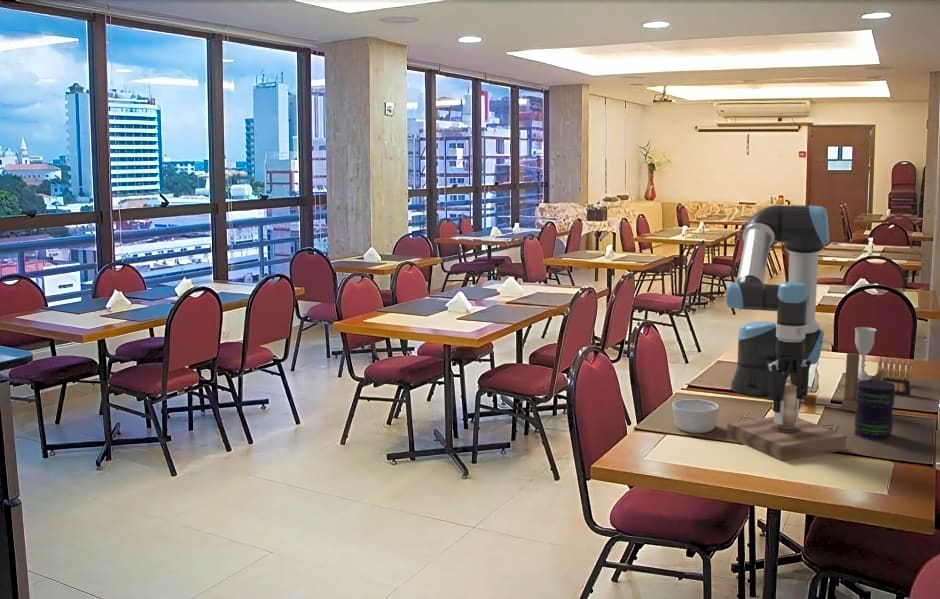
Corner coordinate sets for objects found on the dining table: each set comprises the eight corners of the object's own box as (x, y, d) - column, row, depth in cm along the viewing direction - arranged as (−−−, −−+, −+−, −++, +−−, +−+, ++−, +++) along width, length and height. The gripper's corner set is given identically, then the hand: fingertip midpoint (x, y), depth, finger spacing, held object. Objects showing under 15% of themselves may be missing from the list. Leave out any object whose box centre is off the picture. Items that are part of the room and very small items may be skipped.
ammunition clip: (874, 391, 304) (877, 356, 302) (875, 390, 306) (878, 355, 304) (909, 396, 298) (912, 360, 296) (910, 394, 300) (913, 359, 298)
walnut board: (726, 436, 256) (727, 423, 255) (788, 427, 264) (789, 414, 264) (780, 460, 236) (781, 445, 235) (845, 450, 244) (846, 435, 243)
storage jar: (899, 439, 253) (903, 387, 250) (867, 441, 251) (870, 389, 249) (877, 429, 262) (881, 379, 260) (846, 431, 261) (850, 380, 259)
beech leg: (772, 440, 251) (775, 384, 249) (785, 438, 253) (788, 382, 250) (784, 445, 247) (787, 388, 244) (797, 443, 249) (801, 386, 246)
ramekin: (689, 437, 256) (690, 413, 255) (662, 424, 268) (663, 401, 267) (727, 431, 261) (728, 407, 260) (698, 419, 273) (699, 396, 272)
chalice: (874, 377, 322) (878, 328, 319) (871, 381, 317) (874, 331, 314) (852, 375, 326) (855, 326, 323) (849, 379, 321) (852, 329, 318)
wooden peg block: (878, 416, 275) (882, 358, 272) (841, 410, 282) (844, 354, 279) (881, 413, 278) (885, 356, 275) (844, 408, 284) (848, 352, 282)
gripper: (774, 344, 239) (769, 429, 242) (825, 339, 245) (820, 422, 249) (755, 339, 245) (751, 422, 249) (805, 334, 252) (801, 415, 256)
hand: (786, 422), depth 249 cm, fingers closed on beech leg, 4 cm apart
